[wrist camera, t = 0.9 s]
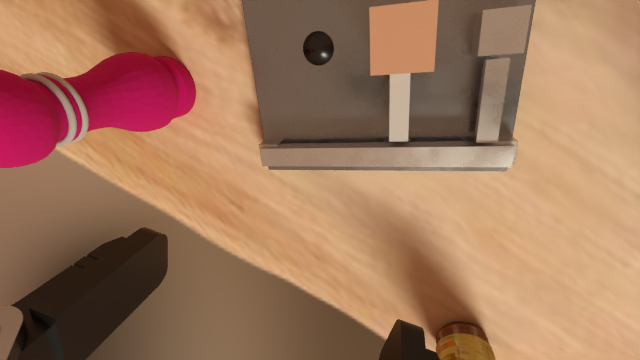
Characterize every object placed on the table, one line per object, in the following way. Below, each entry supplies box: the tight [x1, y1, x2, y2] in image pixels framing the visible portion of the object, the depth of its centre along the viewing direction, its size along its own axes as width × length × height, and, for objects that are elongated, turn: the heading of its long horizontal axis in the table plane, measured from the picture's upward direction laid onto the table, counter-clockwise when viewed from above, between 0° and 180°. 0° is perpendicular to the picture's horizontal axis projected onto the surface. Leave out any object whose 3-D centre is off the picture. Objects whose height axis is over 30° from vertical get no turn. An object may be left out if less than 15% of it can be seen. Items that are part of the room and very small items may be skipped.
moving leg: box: [369, 0, 439, 142], centre depth 22 cm, size 4×10×9 cm, turn 5°
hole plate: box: [242, 0, 536, 171], centre depth 26 cm, size 23×16×4 cm
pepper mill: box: [0, 52, 196, 168], centre depth 24 cm, size 7×7×20 cm
